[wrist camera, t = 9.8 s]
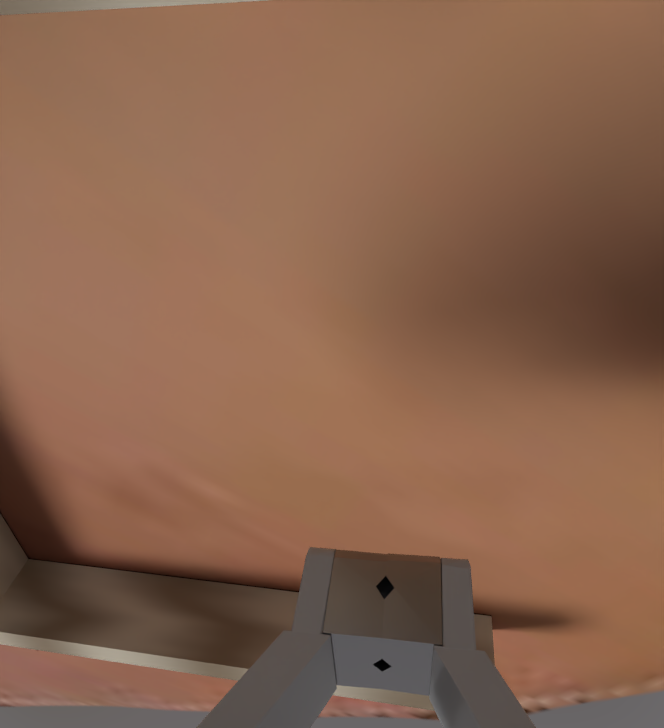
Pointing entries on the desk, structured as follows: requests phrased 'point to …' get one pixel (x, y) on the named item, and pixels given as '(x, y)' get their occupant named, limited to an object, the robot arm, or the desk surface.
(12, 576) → the u-shaped low wall enclosure
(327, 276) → the desk surface
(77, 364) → the desk surface
